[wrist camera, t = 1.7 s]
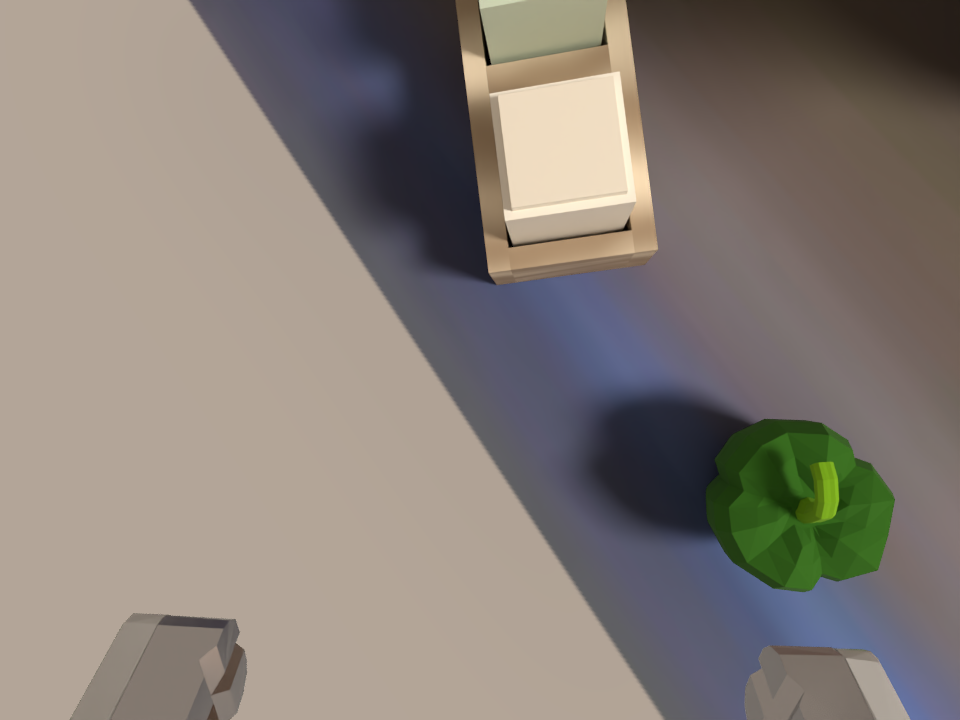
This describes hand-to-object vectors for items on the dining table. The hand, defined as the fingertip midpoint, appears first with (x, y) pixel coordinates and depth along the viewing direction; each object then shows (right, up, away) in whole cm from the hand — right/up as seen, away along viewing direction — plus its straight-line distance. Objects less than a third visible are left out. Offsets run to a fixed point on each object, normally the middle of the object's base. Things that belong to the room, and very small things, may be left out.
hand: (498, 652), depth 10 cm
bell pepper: (+16, -3, +28) cm, 33 cm away
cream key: (+4, +14, +26) cm, 30 cm away
